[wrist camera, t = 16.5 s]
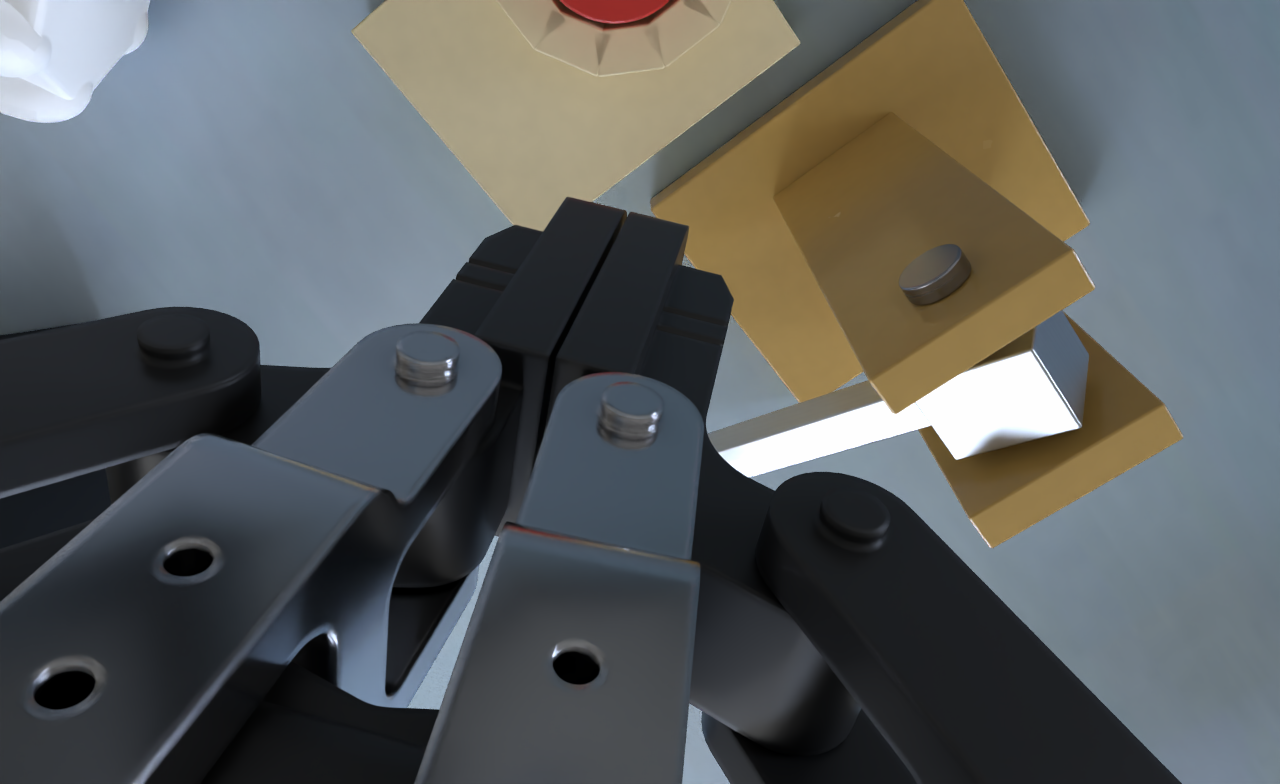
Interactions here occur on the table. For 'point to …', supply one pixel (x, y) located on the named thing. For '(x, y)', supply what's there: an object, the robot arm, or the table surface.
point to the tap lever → (931, 408)
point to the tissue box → (52, 501)
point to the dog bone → (62, 52)
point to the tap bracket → (914, 252)
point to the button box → (566, 85)
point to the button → (614, 9)
